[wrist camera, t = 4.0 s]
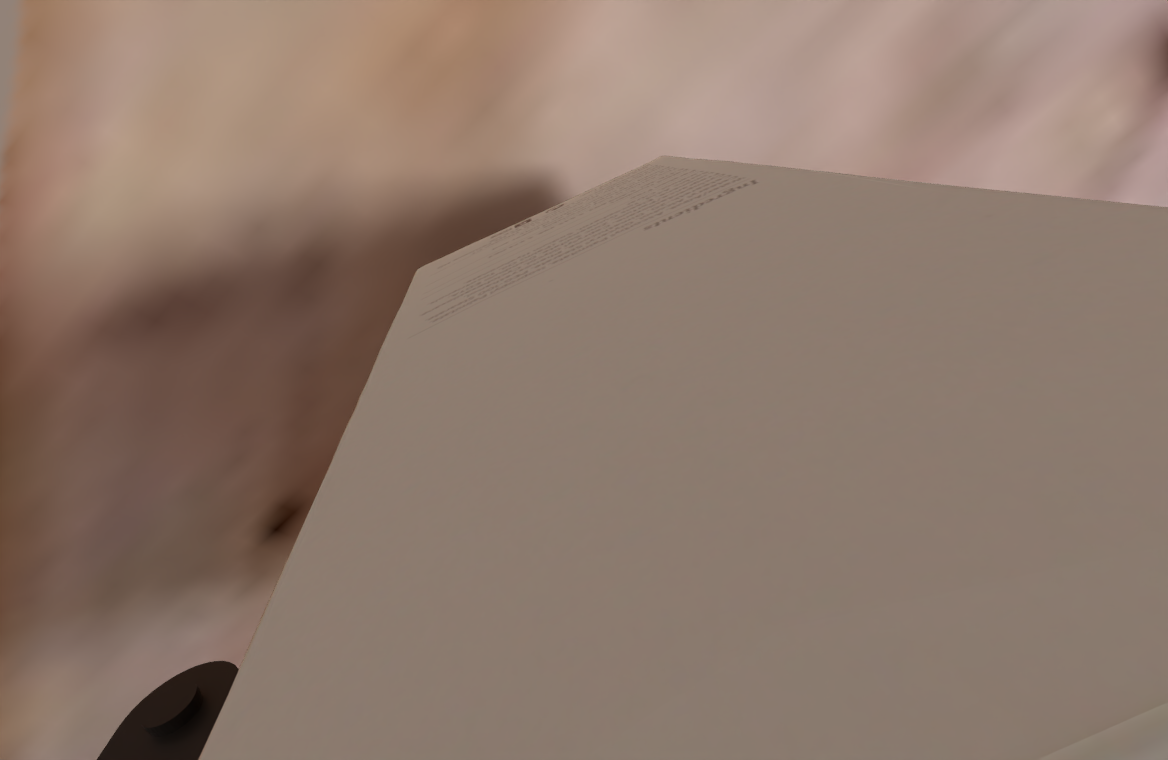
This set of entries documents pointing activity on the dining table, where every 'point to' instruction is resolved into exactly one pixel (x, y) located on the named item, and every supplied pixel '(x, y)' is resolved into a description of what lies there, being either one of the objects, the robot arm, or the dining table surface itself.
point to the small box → (745, 488)
